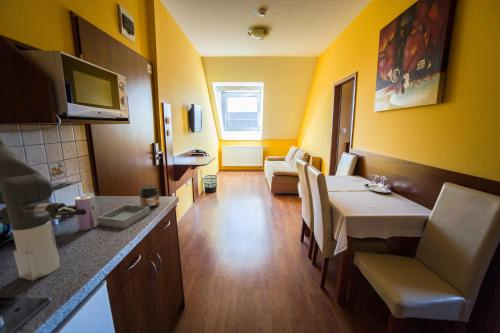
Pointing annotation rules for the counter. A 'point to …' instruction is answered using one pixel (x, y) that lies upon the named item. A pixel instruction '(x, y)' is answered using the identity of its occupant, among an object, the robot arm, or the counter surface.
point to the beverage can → (87, 219)
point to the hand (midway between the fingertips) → (89, 209)
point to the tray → (123, 216)
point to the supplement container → (149, 196)
